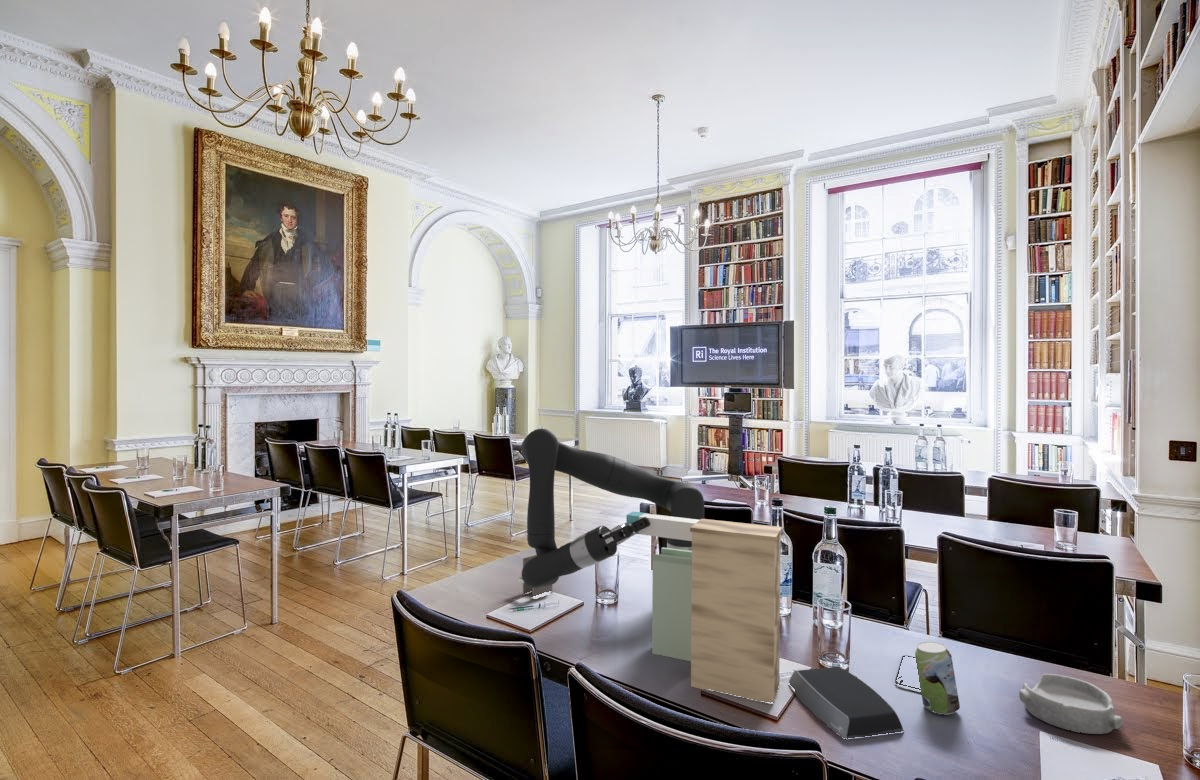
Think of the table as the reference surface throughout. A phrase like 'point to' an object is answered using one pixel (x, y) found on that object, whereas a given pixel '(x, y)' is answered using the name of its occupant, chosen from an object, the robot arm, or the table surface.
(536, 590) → the architectural model
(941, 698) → the beverage can
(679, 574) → the sage green upright box
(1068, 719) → the dish
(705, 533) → the oak stand
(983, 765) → the table surface
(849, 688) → the external hard drive
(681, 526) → the white teal square bar
